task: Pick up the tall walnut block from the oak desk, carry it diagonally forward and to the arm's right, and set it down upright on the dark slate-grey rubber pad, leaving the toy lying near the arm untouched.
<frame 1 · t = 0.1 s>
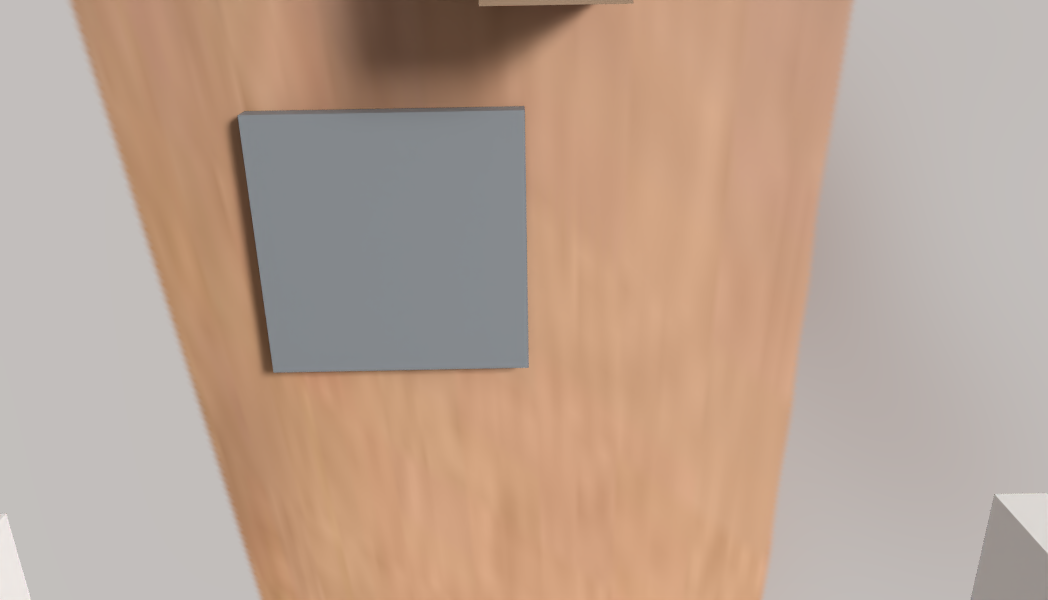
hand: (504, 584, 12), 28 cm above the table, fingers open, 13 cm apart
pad: (394, 242, 39), on the table
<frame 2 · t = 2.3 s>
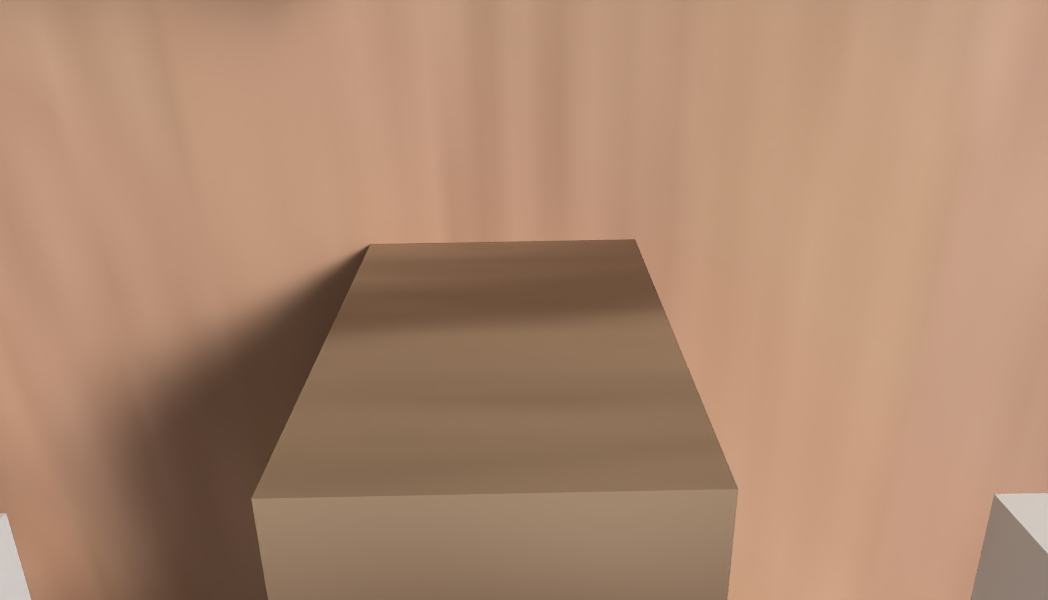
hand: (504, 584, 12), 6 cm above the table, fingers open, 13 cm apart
block: (505, 359, 17), on the table
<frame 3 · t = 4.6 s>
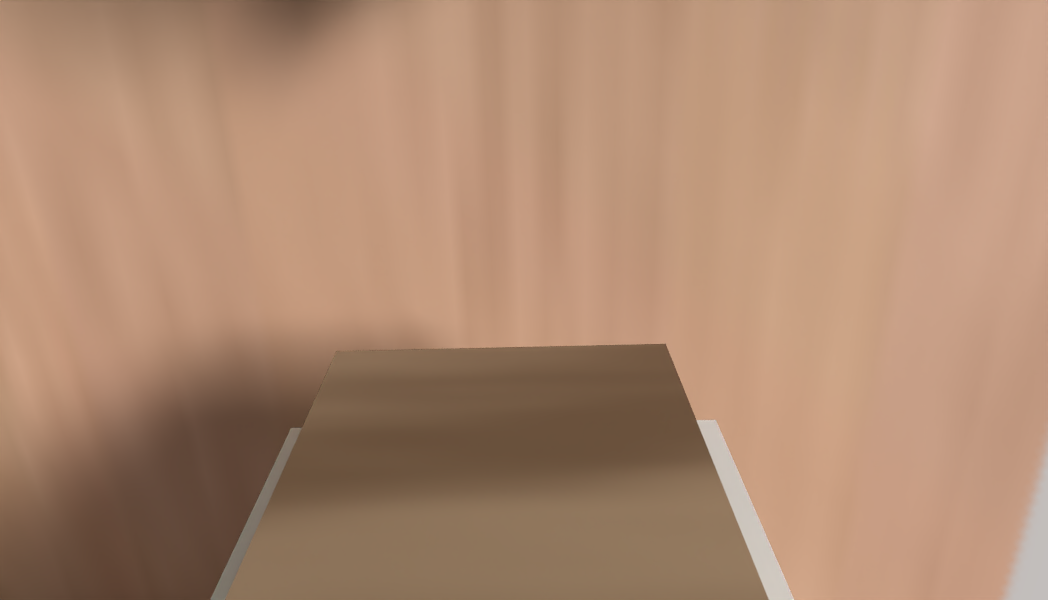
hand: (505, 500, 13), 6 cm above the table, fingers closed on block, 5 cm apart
block: (505, 487, 14), point 6 cm above the table, touching gripper
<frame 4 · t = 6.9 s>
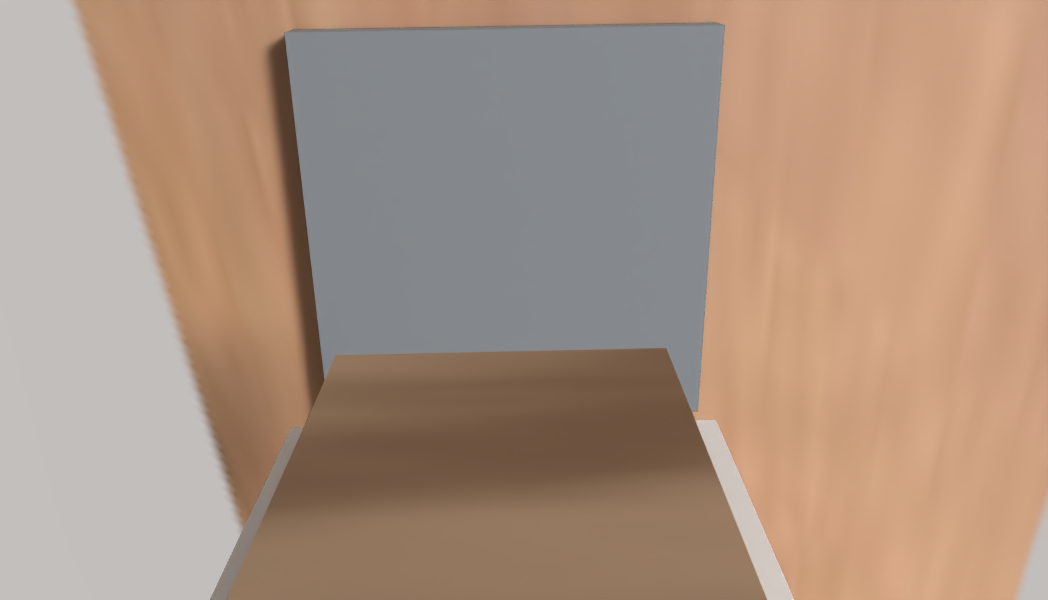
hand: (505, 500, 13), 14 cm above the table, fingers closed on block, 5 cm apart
block: (505, 491, 14), point 14 cm above the table, touching gripper
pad: (509, 228, 26), on the table
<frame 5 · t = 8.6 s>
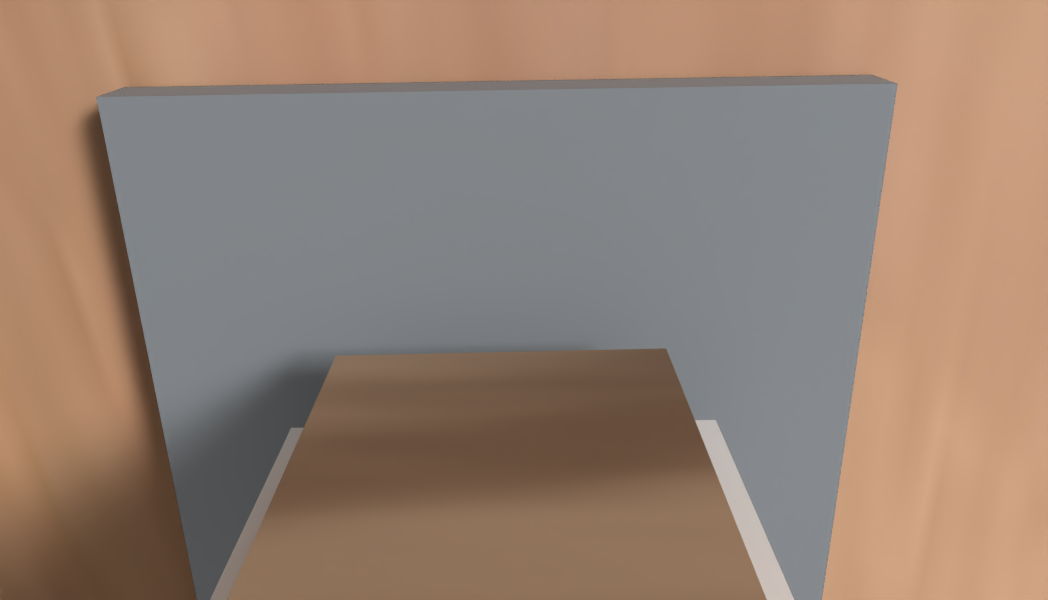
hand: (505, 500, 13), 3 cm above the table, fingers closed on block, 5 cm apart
block: (505, 491, 14), point 2 cm above the table, touching gripper
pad: (507, 409, 16), on the table
when the fingers open (1 cm above the table, at t = 9.3 s): block stays where it is, resting on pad.
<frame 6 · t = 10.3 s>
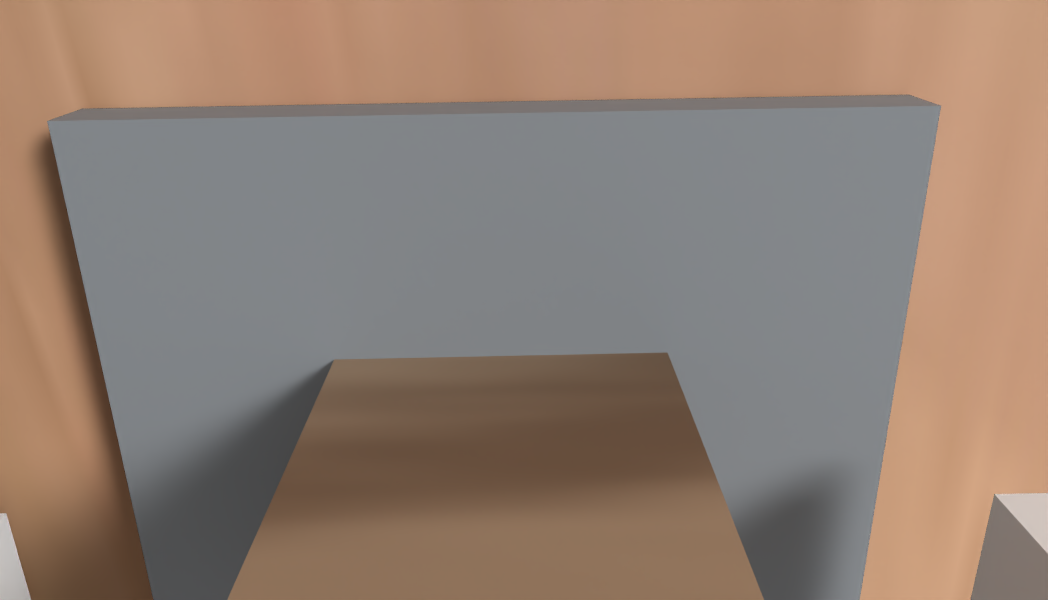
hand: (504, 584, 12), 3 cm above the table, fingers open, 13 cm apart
block: (505, 496, 14), point 1 cm above the table, touching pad
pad: (506, 457, 15), on the table
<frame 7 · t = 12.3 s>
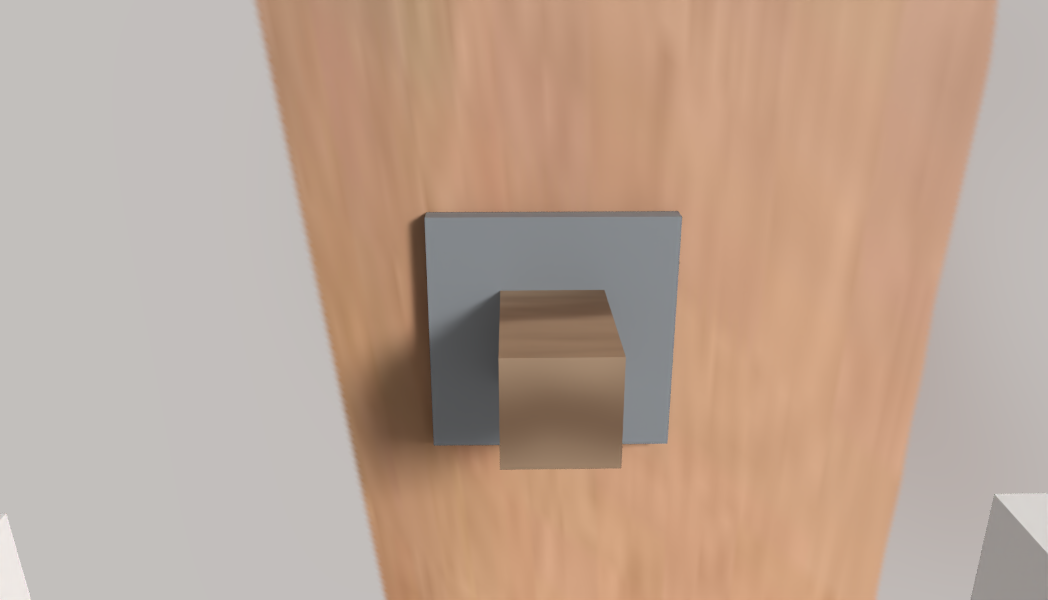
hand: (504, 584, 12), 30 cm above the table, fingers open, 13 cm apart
block: (551, 338, 42), point 1 cm above the table, touching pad
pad: (551, 328, 43), on the table
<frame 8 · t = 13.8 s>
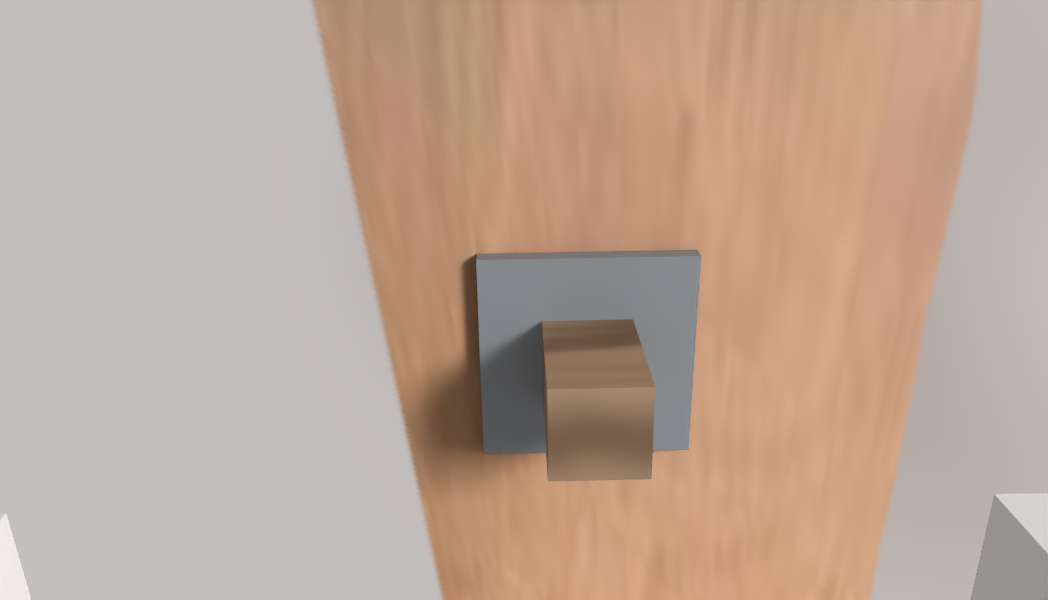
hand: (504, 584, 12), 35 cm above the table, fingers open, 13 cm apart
block: (587, 361, 48), point 1 cm above the table, touching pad
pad: (585, 351, 49), on the table
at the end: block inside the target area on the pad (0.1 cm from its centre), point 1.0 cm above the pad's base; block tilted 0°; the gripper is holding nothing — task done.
